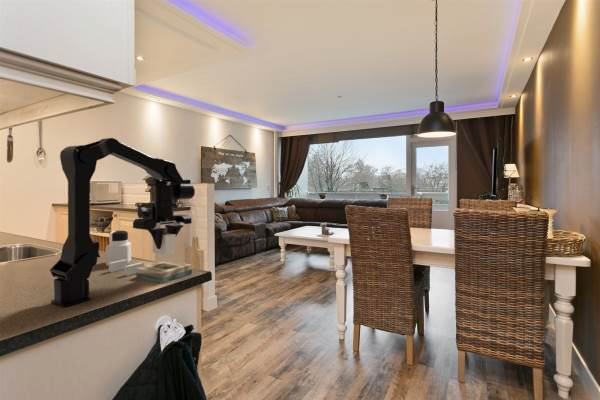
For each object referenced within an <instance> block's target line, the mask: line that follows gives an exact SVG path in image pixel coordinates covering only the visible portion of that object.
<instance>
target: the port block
mask: <svg viewBox="0 0 600 400" xmlns="http://www.w3.org/2000/svg"><path fill="white" fill-rule="evenodd" d="M191 273H193V264H191V263H190V264H189V263H184V262H179V261H178V262H177V261H173V260H169V259H168V260H162V261H158V262H155V263H151V264H150V263H149V264H147V265H144V266H142V267H138V268H136V274H135V276H136V278H137V279H142V280H147V281H150V282H156V283H159V282H160V283H159V284H164V283H167V282H170V281H173V280H172V279H174V280H176V278H177V279H179V277H180V278H183V277H185V275H186V276H188V274H189V275H192V274H191ZM182 276H183V277H182ZM169 280H170V281H169ZM166 281H167V282H166ZM163 282H164V283H163Z"/></svg>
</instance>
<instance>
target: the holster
mask: <svg viewBox="0 0 600 400" xmlns="http://www.w3.org/2000/svg"><path fill="white" fill-rule="evenodd" d="M142 266H145V263H144V262H136V263H133V264H129V263H128V260H127V259H124V260H120V261H115V262H111V263H109V266H108V273H114V272H118V271H123V270H124V276H126V277H128V276H132V275H136V268H138V267H142Z"/></svg>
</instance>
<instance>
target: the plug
mask: <svg viewBox="0 0 600 400" xmlns="http://www.w3.org/2000/svg"><path fill="white" fill-rule="evenodd" d="M163 228H164V230H163V236H162V243H161V248H160V249H157V247H156V245H155V242H154V240H153V239H152V253H153V254H154V253H155V254H161V255H171V254H174V253H176V246H177V245H176V244H177V243H176V241H177V240H176V238H177V236H176V234H170V233H167V228H166V227H163Z"/></svg>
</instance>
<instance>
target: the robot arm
mask: <svg viewBox="0 0 600 400" xmlns="http://www.w3.org/2000/svg"><path fill="white" fill-rule="evenodd" d="M110 155H111V156H113V157H115V158H118V159H120V160H122V161H124V162H127V163H128V164H129V163H130V164H132V165H134V166H137V167H139V168H141V169H143V170H144V171H145V172H146V174H148V175H149V176H151V177H153V179H152V180H151V181H150V182H149V183H148V184H147V186H148V187H153V188H154V202H151V206H150V207H149V208H146V206H145V207H139V208H137V218H135V219H134V221H133V222H132V228H133V229H135V230H136V229H138V230H145V231H147V232H149V233H150V235H151V237H152V241H153V240H154V242H155V245H156V247H157V249H160V248H161V243H162V236H163V230H164V228H167V233H170V234H176V237H177V236H178V234H179V232H180V230H181V229H182V228H184V225H190V224H192V217H191V215H188V214H174V212H175V211H174V207H177V202H174V200H176V201H177V200H191V199H193V198H194V196H195V193H196V189H195V188H194V185H193V184H192V183H191V180H190V179H183V178H182V176H181V174H180V171H178V169H177V167H176V164H175V163H174V162H173V161H170V160H166V159H164V158H163V159H162V158H159V157H158V158H157V157H154V156H150V155H148V154H146V153H144V152H142V151H140V150H138V149H135V148H133V147H132V146H129V145H127V144H125V143H123V142H121V141H119V140H118V139H116V138H114V137H108V138H107V137H106V138H101V139H99V140H97V141H94V142H91V143H86V144H82V145H80V144H79V145H71V146H65V147H64V148H63V149H62V150H61V151H60V154H59V160H60V164H61V170H62V172H63V173H64V175H65V178H66V180H67V238H66V239H65V242H64V243H63V245H62V249H61V253H60V259H58V261H56V263H55V264H54V265H53V266H52V267H51V268H50V269H49V272H50V274H51V276H52V277H53V279H54V280H53V291H54V296H53V297H54V299H51V300H50V303H51V304H54V305H57V306H60V307H62V308H66V307H71V306H72V305H76V304H80V303H83V302H86V301H89V300H92V296H90V280H89V278H90V276H91V273H92V271H93V268H94V267H95V266H96V265H97V262H98V258H101V256H100V250H99V249H100V242H99V241H96V240H93V239H92V237H91V179H92V178H93V176H94V174H95V172H96V167H97V163H98V161H99V160H103V159H105V158H106V157H108V156H110ZM181 223H183V224H184V225H182V224H181ZM161 225H164V226H165V227H161Z"/></svg>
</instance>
